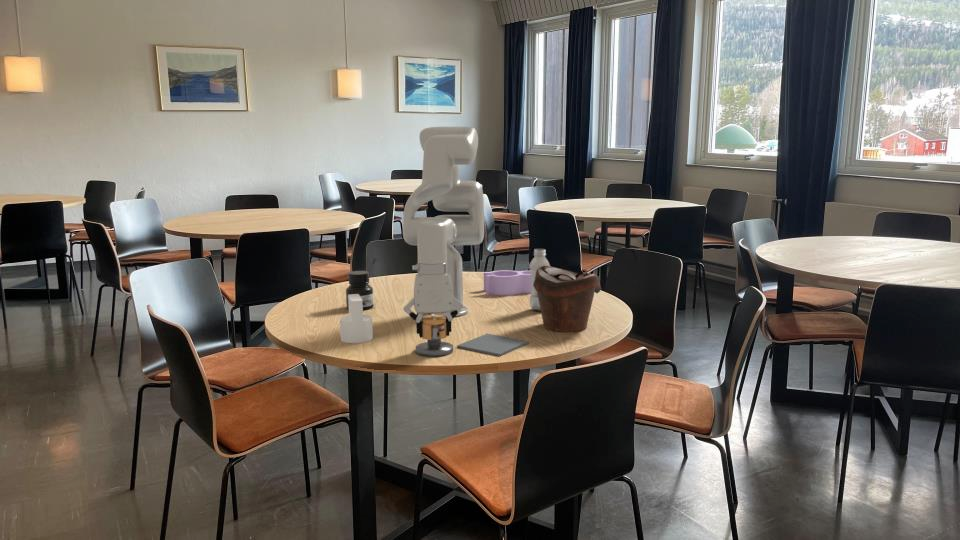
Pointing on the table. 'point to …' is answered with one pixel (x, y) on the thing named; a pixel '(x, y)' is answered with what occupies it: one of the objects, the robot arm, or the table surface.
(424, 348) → the grey post on disc
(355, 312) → the cylinder with rectangular tab
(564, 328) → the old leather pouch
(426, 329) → the orange ellipsoid with prongs
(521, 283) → the clip
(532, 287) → the plastic bottle
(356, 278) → the ink bottle
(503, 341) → the mat
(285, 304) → the table surface
